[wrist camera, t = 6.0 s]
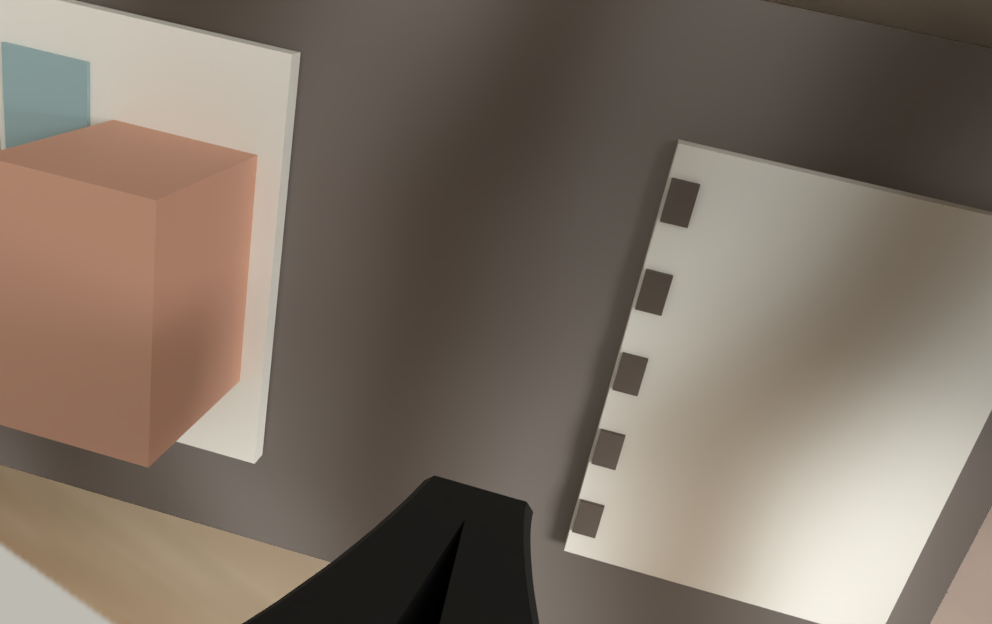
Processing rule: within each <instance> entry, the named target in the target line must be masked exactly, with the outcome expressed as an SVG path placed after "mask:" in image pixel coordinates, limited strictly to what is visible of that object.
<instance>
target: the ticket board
mask: <svg viewBox="0 0 992 624" xmlns="http://www.w3.org/2000/svg"><path fill="white" fill-rule="evenodd" d="M76 1H81V2H85V3H89V4H94V5H98V6H102V7H107V8H111V9H115V10H120V11H124V12H128V13H133V14H137V15H141V16H145V17H150V18H154V19H158V20H163V21H167V22H171V23H176V24H180V25H184V26H189V27H193V28H197V29H202V30H206V31H210V32H215V33H219V34H223V35H228V36H232V37H236V38H241V39H245V40H249V41H254V42H258V43H262V44H267V45H271V46H275V47H279V48H284V49H288V50H292V51H297V52H301V54H300V65H299V75H298V86H297V96H296V107H295V117H294V128H293V138H292V149H291V159H290V170H289V180H288V191H287V201H286V212H285V222H284V233H283V243H282V254H281V264H280V275H279V285H278V296H277V306H276V317H275V327H274V338H273V348H272V359H271V369H270V380H269V390H268V401H267V411H266V422H265V432H264V443H263V453H262V456H261V457H260V458H259V459H258V460H257V462H256V463H255V464H253V463H250V462H246V461H243V460H239V459H236V458H232V457H229V456H225V455H222V454H218V453H215V452H211V451H208V450H204V449H201V448H197V447H194V446H190V445H187V444H183V443H180V442H175V443H174V444H173V445H172V446H171V447H170V448H168V449H167V450H166V451H165V452H164V453H163V454H162V455H161V456H160V457H159V458H158V459H157V460H156V461H155V462H154V463H153V464H152V465H151V466H150V467H148V468H147V467H144V466H141V465H137V464H134V463H130V462H127V461H123V460H120V459H116V458H113V457H110V456H106V455H103V454H99V453H96V452H92V451H89V450H85V449H82V448H78V447H75V446H72V445H68V444H65V443H61V442H58V441H54V440H51V439H47V438H44V437H41V436H37V435H34V434H30V433H27V432H23V431H20V430H16V429H13V428H9V427H6V426H3V425H0V465H3V466H7V467H10V468H13V469H17V470H20V471H23V472H27V473H30V474H34V475H37V476H40V477H44V478H47V479H51V480H54V481H57V482H61V483H64V484H67V485H71V486H74V487H78V488H81V489H84V490H88V491H91V492H95V493H98V494H101V495H105V496H108V497H112V498H115V499H118V500H122V501H125V502H128V503H132V504H135V505H139V506H142V507H145V508H149V509H152V510H156V511H159V512H162V513H166V514H169V515H173V516H176V517H179V518H183V519H186V520H189V521H193V522H196V523H200V524H203V525H206V526H210V527H213V528H217V529H220V530H223V531H227V532H230V533H234V534H237V535H240V536H244V537H247V538H250V539H254V540H257V541H261V542H264V543H267V544H271V545H274V546H278V547H281V548H284V549H288V550H291V551H295V552H298V553H301V554H305V555H308V556H311V557H315V558H318V559H322V560H325V561H328V562H333V561H334V560H335V559H336V558H338V557H339V556H340V555H341V554H343V553H344V552H345V551H346V550H348V549H349V548H350V547H351V546H352V545H354V544H355V543H356V542H357V541H359V540H360V539H361V538H362V537H364V536H365V535H366V534H367V533H368V532H370V531H371V530H372V529H373V528H374V527H376V526H377V525H378V524H379V523H380V522H381V521H382V520H383V519H385V518H386V517H387V516H388V515H389V514H390V513H391V512H392V511H394V510H395V509H396V508H397V507H398V506H399V505H400V504H401V503H402V502H403V501H404V500H405V499H406V498H407V497H408V496H409V495H410V494H411V493H412V492H413V491H414V490H415V489H416V488H417V487H418V486H419V485H420V484H421V483H422V482H423V481H424V480H426V479H428V478H430V477H432V476H434V475H435V476H439V477H442V478H446V479H449V480H453V481H456V482H460V483H463V484H467V485H470V486H474V487H477V488H481V489H484V490H487V491H491V492H494V493H498V494H501V495H505V496H508V497H512V498H515V499H519V500H522V501H526V502H527V503H528V504H529V506H530V508H531V509H532V511H533V515H532V521H531V563H532V576H533V585H534V593H535V600H536V606H537V612H538V618H539V624H930V623H931V621H932V619H933V617H934V615H935V613H936V611H937V609H938V607H939V605H940V604H941V602H942V600H943V598H944V596H945V594H946V592H947V590H948V588H949V586H950V584H951V583H952V581H953V579H954V577H955V575H956V573H957V571H958V569H959V567H960V565H961V563H962V562H963V560H964V558H965V556H966V554H967V552H968V550H969V548H970V546H971V544H972V542H973V541H974V539H975V537H976V535H977V533H978V531H979V529H980V527H981V525H982V523H983V521H984V520H985V518H986V516H987V514H988V512H989V510H990V508H991V506H992V48H988V47H983V46H978V45H974V44H969V43H964V42H959V41H955V40H950V39H945V38H941V37H936V36H931V35H926V34H922V33H917V32H912V31H908V30H903V29H898V28H893V27H889V26H884V25H879V24H875V23H870V22H865V21H860V20H856V19H851V18H846V17H842V16H837V15H832V14H827V13H823V12H818V11H813V10H809V9H804V8H799V7H794V6H790V5H785V4H780V3H776V2H771V1H766V0H76ZM0 150H1V149H0Z"/></svg>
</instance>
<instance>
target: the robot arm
mask: <svg viewBox="0 0 992 624" xmlns="http://www.w3.org/2000/svg"><path fill="white" fill-rule="evenodd" d="M532 515H533V511H532V509H531V508H530V506H529V504H528V503H527V502H526V501H522V500H519V499H515V498H512V497H508V496H505V495H501V494H498V493H494V492H491V491H487V490H484V489H481V488H477V487H474V486H470V485H467V484H463V483H460V482H456V481H453V480H449V479H446V478H442V477H439V476H435V475H434V476H432V477H430V478H428V479H426V480H424V481H423V482H422V483H421V484H420V485H419V486H418V487H417V488H416V489H415V490H414V491H413V492H412V493H411V494H410V495H409V496H408V497H407V498H406V499H405V500H404V501H403V502H402V503H401V504H400V505H399V506H398V507H397V508H396V509H395V510H394V511H392V512H391V513H390V514H389V515H388V516H387V517H386V518H385V519H383V520H382V521H381V522H380V523H379V524H378V525H377V526H376V527H374V528H373V529H372V530H371V531H370V532H368V533H367V534H366V535H365V536H364V537H362V538H361V539H360V540H359V541H357V542H356V543H355V544H354V545H352V546H351V547H350V548H349V549H348V550H346V551H345V552H344V553H343V554H341V555H340V556H339V557H338V558H336V559H335V560H334V561H333V562H331V563H330V564H329V565H327V566H326V567H325V568H323V569H322V570H321V571H319V572H318V573H316V574H315V575H314V576H312V577H311V578H309V579H308V580H306V581H305V582H304V583H302V584H301V585H299V586H298V587H297V588H295V589H294V590H292V591H291V592H290V593H288V594H287V595H285V596H284V597H283V598H281V599H280V600H278V601H277V602H275V603H274V604H272V605H271V606H269V607H268V608H266V609H265V610H263V611H262V612H260V613H258V614H257V615H255V616H254V617H252V618H251V619H249V620H247V621H246V622H244V623H243V624H539V618H538V612H537V606H536V600H535V593H534V585H533V576H532V563H531V521H532Z"/></svg>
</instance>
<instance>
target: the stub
mask: <svg viewBox="0 0 992 624" xmlns="http://www.w3.org/2000/svg"><path fill="white" fill-rule="evenodd" d="M300 54H301V52H297V51H292V50H288V49H284V48H279V47H275V46H271V45H267V44H262V43H258V42H254V41H249V40H245V39H241V38H236V37H232V36H228V35H223V34H219V33H215V32H210V31H206V30H202V29H197V28H193V27H189V26H184V25H180V24H176V23H171V22H167V21H163V20H158V19H154V18H150V17H145V16H141V15H137V14H133V13H128V12H124V11H120V10H115V9H111V8H107V7H102V6H98V5H94V4H89V3H85V2H81V1H76V0H0V149H1V150H0V425H3V426H6V427H9V428H13V429H16V430H20V431H23V432H27V433H30V434H34V435H37V436H41V437H44V438H47V439H51V440H54V441H58V442H61V443H65V444H68V445H72V446H75V447H78V448H82V449H85V450H89V451H92V452H96V453H99V454H103V455H106V456H110V457H113V458H116V459H120V460H123V461H127V462H130V463H134V464H137V465H141V466H144V467H147V468H148V467H150V466H151V465H152V464H153V463H154V462H155V461H156V460H157V459H158V458H159V457H160V456H161V455H162V454H163V453H164V452H165V451H166V450H167V449H168V448H170V447H171V446H172V445H173V444H174V443H175V442H180V443H183V444H187V445H190V446H194V447H197V448H201V449H204V450H208V451H211V452H215V453H218V454H222V455H225V456H229V457H232V458H236V459H239V460H243V461H246V462H250V463H253V464H255V463H256V462H257V460H258V459H259V458H260V457H261V456H262V453H263V443H264V432H265V422H266V411H267V401H268V390H269V380H270V369H271V359H272V348H273V338H274V327H275V317H276V306H277V296H278V285H279V275H280V264H281V254H282V243H283V233H284V222H285V212H286V201H287V191H288V180H289V170H290V159H291V149H292V138H293V128H294V117H295V107H296V96H297V86H298V75H299V65H300Z"/></svg>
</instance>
